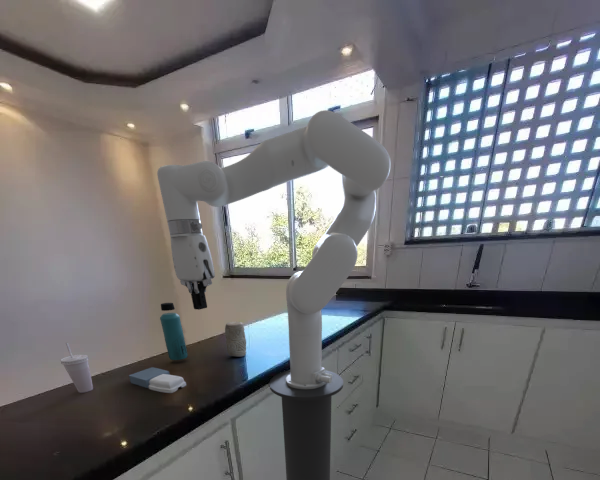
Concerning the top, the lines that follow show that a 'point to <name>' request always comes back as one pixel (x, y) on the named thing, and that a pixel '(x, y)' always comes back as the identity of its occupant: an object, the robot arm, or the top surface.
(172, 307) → the beverage bottle
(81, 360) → the smoothie
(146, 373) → the rubber pad
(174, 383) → the white clamshell food container
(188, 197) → the robot arm
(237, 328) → the carving
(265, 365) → the top surface
